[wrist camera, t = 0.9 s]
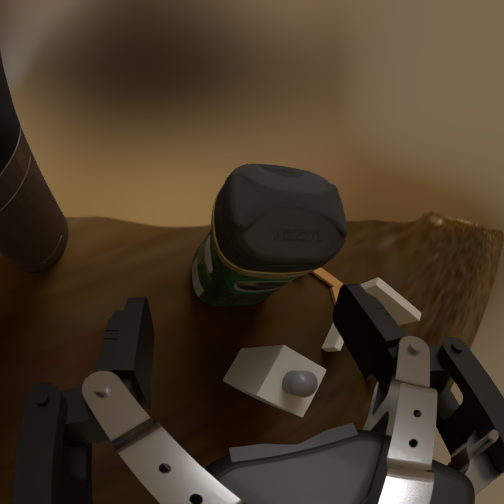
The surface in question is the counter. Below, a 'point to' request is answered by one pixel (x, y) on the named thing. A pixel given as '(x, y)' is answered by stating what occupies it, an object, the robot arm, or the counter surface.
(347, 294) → the robot arm
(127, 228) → the counter surface
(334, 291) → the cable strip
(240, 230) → the coffee jar
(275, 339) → the counter surface
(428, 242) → the counter surface
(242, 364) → the white square bottle
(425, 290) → the counter surface
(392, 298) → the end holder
